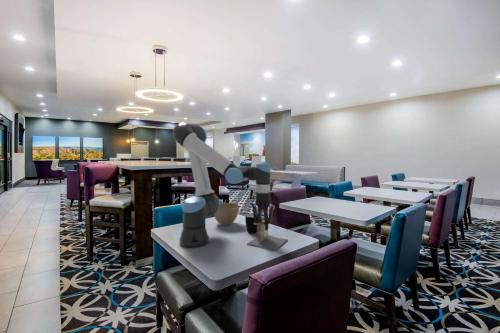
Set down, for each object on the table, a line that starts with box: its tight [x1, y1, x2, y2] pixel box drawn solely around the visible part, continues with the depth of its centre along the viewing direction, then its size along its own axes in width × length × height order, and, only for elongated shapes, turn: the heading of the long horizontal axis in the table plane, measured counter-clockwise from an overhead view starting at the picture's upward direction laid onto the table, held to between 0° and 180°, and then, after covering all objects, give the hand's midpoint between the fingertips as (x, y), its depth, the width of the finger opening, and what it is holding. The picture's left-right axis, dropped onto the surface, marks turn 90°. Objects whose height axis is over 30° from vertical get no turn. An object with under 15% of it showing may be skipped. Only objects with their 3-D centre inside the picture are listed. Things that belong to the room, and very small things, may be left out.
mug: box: [244, 212, 263, 234], centre depth 149 cm, size 12×9×10 cm
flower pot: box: [213, 202, 240, 226], centre depth 164 cm, size 18×18×12 cm
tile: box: [256, 219, 269, 241], centre depth 132 cm, size 2×9×9 cm, turn 151°
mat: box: [246, 235, 288, 252], centre depth 131 cm, size 16×16×1 cm
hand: (262, 235), depth 132 cm, fingers closed on tile, 2 cm apart
